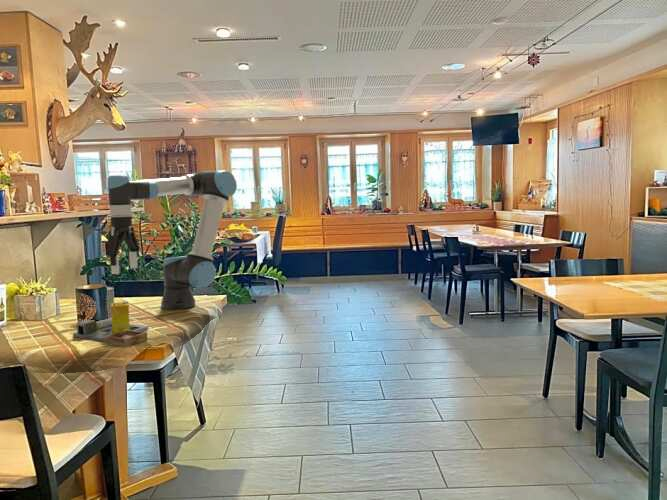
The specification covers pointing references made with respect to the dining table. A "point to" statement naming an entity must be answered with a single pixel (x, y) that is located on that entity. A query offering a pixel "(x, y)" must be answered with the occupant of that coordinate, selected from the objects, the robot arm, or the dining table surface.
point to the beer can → (110, 299)
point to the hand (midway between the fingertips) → (125, 270)
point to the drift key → (104, 322)
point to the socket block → (99, 330)
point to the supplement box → (120, 316)
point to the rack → (126, 338)
